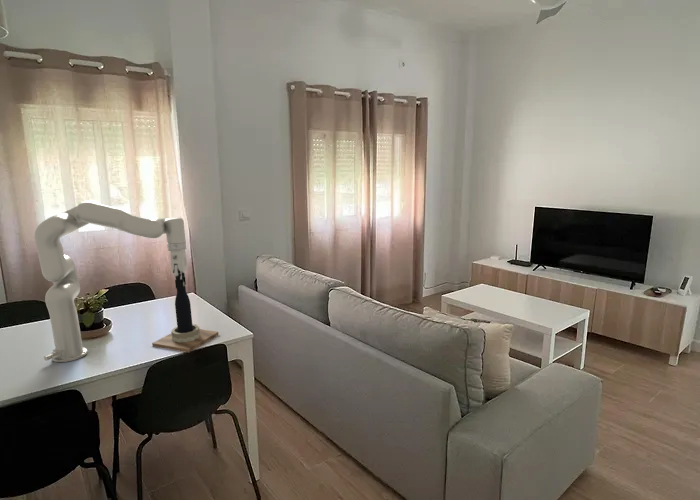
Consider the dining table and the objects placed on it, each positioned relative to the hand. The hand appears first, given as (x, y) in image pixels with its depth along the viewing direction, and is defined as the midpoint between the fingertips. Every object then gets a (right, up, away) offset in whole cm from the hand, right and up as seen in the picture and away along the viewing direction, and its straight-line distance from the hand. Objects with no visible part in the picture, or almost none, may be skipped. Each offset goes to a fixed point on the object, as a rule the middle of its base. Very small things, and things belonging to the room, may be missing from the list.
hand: (180, 286), depth 192 cm
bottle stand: (0, -25, +5) cm, 26 cm away
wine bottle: (0, -22, +5) cm, 22 cm away
